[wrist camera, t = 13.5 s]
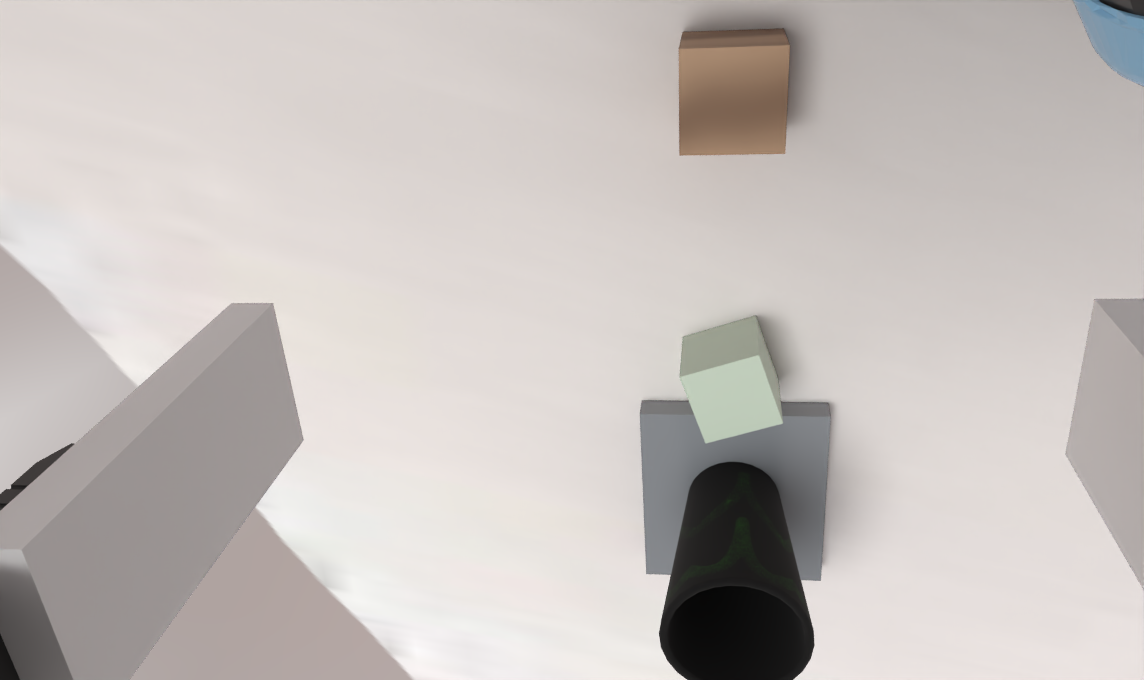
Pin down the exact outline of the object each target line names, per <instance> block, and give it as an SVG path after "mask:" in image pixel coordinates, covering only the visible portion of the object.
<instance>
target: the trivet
mask: <svg viewBox="0 0 1144 680" xmlns="http://www.w3.org/2000/svg"><path fill="white" fill-rule="evenodd" d="M781 409H782V418H783V424H779V425H775V426H771V427H768V428H764V429H760V430H756V431H752V432H748V433H744V434H740V435H737V436H733V437H729V438H725V439H721V440H717V441H713V442H709V443H705V441H704V438H703V436H702V433H701V431H700V428H699V426H698V423H697V420H696V418H695V415H694V413H693V410H692V408H691V405H690V403H689V401H642V403H641V410H640V430H641V454H642V479H643V503H644V528H645V552H646V574H665V575H671V572H672V568H673V563H674V558H675V554H676V549H677V544H678V540H679V535H680V530H681V525H682V521H683V516H684V511H685V507H686V502H687V497H688V493H689V488H690V486H691V484H692V482H693V480H694V479H695V478H696V477H697V476H698V475H699V473H701V472H702V471H704V470H705V469H707V468H708V467H710V466H713V465H715V464H718V463H724V462H743V463H746V464H750V465H753V466H755V467H757V468H759V469H761V470H763V471H764V472H765V473H766V474H768V475H769V476H770V477H771V479H772V480H773V481H774V483H775V484H776V486H777V489H778V491H779V495H780V499H781V503H782V507H783V511H784V515H785V519H786V523H787V527H788V531H789V535H790V539H791V543H792V547H793V551H794V555H795V559H796V563H797V567H798V571H799V575H800V579H801V580H815V581H821V568H822V552H823V535H824V518H825V502H826V485H827V468H828V452H829V435H830V418H831V416H830V411H829V406H828V403H791V402H781Z"/></svg>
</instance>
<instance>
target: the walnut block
mask: <svg viewBox="0 0 1144 680" xmlns="http://www.w3.org/2000/svg"><path fill="white" fill-rule="evenodd" d="M789 53H790V44H789V42H788V39H787V36H786V34H785V31H784V28H782V29H754V30H726V31H698V32H683V33H682V37H681V42H680V46H679V151H680V155H736V154H785V146H786V123H787V100H788V76H789Z"/></svg>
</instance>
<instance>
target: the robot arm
mask: <svg viewBox="0 0 1144 680" xmlns="http://www.w3.org/2000/svg"><path fill="white" fill-rule="evenodd" d="M1073 2H1074V4H1075V6H1076V9H1077V11H1078V13H1079V16H1080V18H1081V20H1082V23H1083V25H1084V27H1085V29H1086V32H1087V34H1088V36H1089V39H1090V41H1091V43H1092V46H1093V48H1094V49H1095V51H1096V52H1097V54H1099V56H1100V57H1101V58H1102V59H1103V60H1104V61H1105V62H1106V63H1107V64H1108V66H1109V67H1110V68H1111V69H1113V70H1114V71H1116V72H1117V73H1118V74H1119V75H1121V76H1122V77H1124V78H1126V79H1128V80H1131V81H1133V82H1135V83H1137V84H1139V85H1141V86H1144V0H1073ZM303 440H304V439H303V435H302V431H301V426H300V422H299V417H298V413H297V408H296V404H295V399H294V395H293V390H292V386H291V381H290V377H289V372H288V368H287V364H286V359H285V355H284V350H283V346H282V341H281V337H280V332H279V328H278V323H277V319H276V314H275V310H274V305H273V303H231V304H230V305H229V306H228V307H227V308H226V309H225V310H223V311H222V312H221V313H220V314H219V315H218V316H217V317H216V318H215V319H213V320H212V321H211V322H210V323H209V324H208V325H207V326H206V327H205V328H203V329H202V330H201V331H200V332H199V333H198V334H197V335H196V336H195V337H193V338H192V339H191V340H190V341H189V342H188V343H187V344H186V345H184V346H183V347H182V348H181V349H180V350H179V351H178V352H177V353H176V354H174V355H173V356H172V357H171V358H170V359H169V360H168V361H167V362H166V363H164V364H163V365H162V366H161V367H160V368H159V369H158V370H157V371H156V372H154V373H153V374H152V375H151V376H150V377H149V378H148V379H147V380H145V381H144V382H143V383H142V384H141V385H140V386H139V387H138V388H137V389H135V390H134V391H133V392H132V393H131V394H130V395H129V396H128V397H127V398H126V399H124V400H123V401H122V402H121V403H120V404H119V405H118V406H117V407H115V408H114V409H113V410H112V411H111V412H110V413H109V414H108V415H106V416H105V417H104V418H103V419H102V420H101V421H100V422H99V423H98V424H97V425H95V426H94V427H93V428H92V429H91V430H90V431H89V432H88V433H86V434H85V435H84V436H83V437H82V438H81V439H80V440H79V441H78V442H76V443H75V444H70V445H68V446H66V447H64V448H62V449H61V450H59V451H57V452H55V453H53V454H51V455H50V456H48V457H46V458H45V459H42V460H40V461H39V462H37V463H36V464H34V465H33V466H32V467H31V468H30V469H29V470H28V471H26V472H25V473H24V474H23V475H22V476H21V477H20V478H19V479H17V480H16V481H15V482H14V483H13V484H12V485H11V489H6V490H5V491H4V492H2V493H1V494H0V680H130V679H131V677H132V676H133V674H134V673H135V672H136V670H137V669H138V668H139V666H140V665H141V663H142V662H143V660H144V659H145V658H146V657H147V655H148V654H149V652H150V651H151V650H152V648H153V647H154V645H155V644H156V643H157V641H158V640H159V639H160V637H161V636H162V635H163V633H164V632H165V630H166V629H167V628H168V626H169V625H170V623H171V622H172V621H173V619H174V618H175V617H176V615H177V614H178V612H179V611H180V610H181V608H182V607H183V606H184V604H185V603H186V601H187V600H188V599H189V597H190V596H191V595H192V593H193V592H194V590H195V589H196V588H197V586H198V585H199V583H200V582H201V581H202V579H203V578H204V577H205V575H206V574H207V573H208V571H209V570H210V568H211V567H212V566H213V564H214V563H215V562H216V560H217V559H218V557H219V556H220V555H221V553H222V552H223V550H224V549H225V548H226V546H227V545H228V543H229V542H230V541H231V539H232V538H233V537H234V535H235V534H236V533H237V531H238V530H239V528H240V527H241V526H242V524H243V523H244V522H245V520H246V519H247V517H248V516H249V515H250V513H251V512H252V510H253V509H254V508H255V506H256V505H257V504H258V502H259V501H260V500H261V498H262V497H263V495H264V494H265V493H266V491H267V490H268V488H269V487H270V486H271V484H272V483H273V482H274V480H275V479H276V477H277V476H278V475H279V473H280V472H281V471H282V469H283V468H284V466H285V465H286V464H287V462H288V461H289V460H290V458H291V457H292V455H293V454H294V453H295V451H296V450H297V449H298V447H299V446H300V444H301V443H302V442H303ZM1066 456H1067V458H1068V460H1069V461H1070V463H1071V465H1072V467H1073V468H1074V470H1075V472H1076V473H1077V475H1078V477H1079V479H1080V480H1081V482H1082V484H1083V486H1084V487H1085V489H1086V491H1087V492H1088V494H1089V496H1090V498H1091V499H1092V501H1093V503H1094V505H1095V506H1096V508H1097V510H1098V512H1099V513H1100V515H1101V517H1102V518H1103V520H1104V522H1105V524H1106V525H1107V527H1108V529H1109V531H1110V532H1111V534H1112V536H1113V537H1114V539H1115V541H1116V543H1117V544H1118V546H1119V548H1120V550H1121V551H1122V553H1123V555H1124V557H1125V558H1126V560H1127V562H1128V563H1129V565H1130V567H1131V569H1132V570H1133V572H1134V574H1135V576H1136V577H1137V579H1138V581H1139V582H1140V584H1141V586H1142V588H1143V589H1144V299H1094V304H1093V309H1092V314H1091V320H1090V325H1089V330H1088V336H1087V341H1086V346H1085V352H1084V357H1083V363H1082V368H1081V373H1080V379H1079V384H1078V389H1077V395H1076V400H1075V405H1074V411H1073V416H1072V421H1071V427H1070V432H1069V437H1068V443H1067V448H1066Z"/></svg>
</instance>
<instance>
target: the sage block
mask: <svg viewBox="0 0 1144 680" xmlns="http://www.w3.org/2000/svg"><path fill="white" fill-rule="evenodd" d="M680 380H681V382H682V385H683V387H684V390H685V392H686V395H687V398H688V400H689V403H690V405H691V408H692V410H693V413H694V415H695V418H696V420H697V423H698V426H699V428H700V431H701V433H702V436H703V438H704V441H705V443H709V442H713V441H717V440H721V439H725V438H729V437H733V436H737V435H740V434H744V433H748V432H752V431H756V430H760V429H764V428H768V427H771V426H775V425H779V424H783V418H782V409H781V399H780V390H779V381H778V377H777V375H776V372H775V369H774V366H773V363H772V360H771V357H770V354H769V352H768V349H767V346H766V343H765V340H764V337H763V334H762V331H761V329H760V326H759V323H758V320H757V317H756V316H752V317H749V318H746V319H742V320H739V321H735V322H732V323H729V324H725V325H722V326H718V327H715V328H711V329H708V330H705V331H701V332H698V333H694V334H691V335H688V336H684V337H683V341H682V353H681V365H680Z"/></svg>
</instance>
